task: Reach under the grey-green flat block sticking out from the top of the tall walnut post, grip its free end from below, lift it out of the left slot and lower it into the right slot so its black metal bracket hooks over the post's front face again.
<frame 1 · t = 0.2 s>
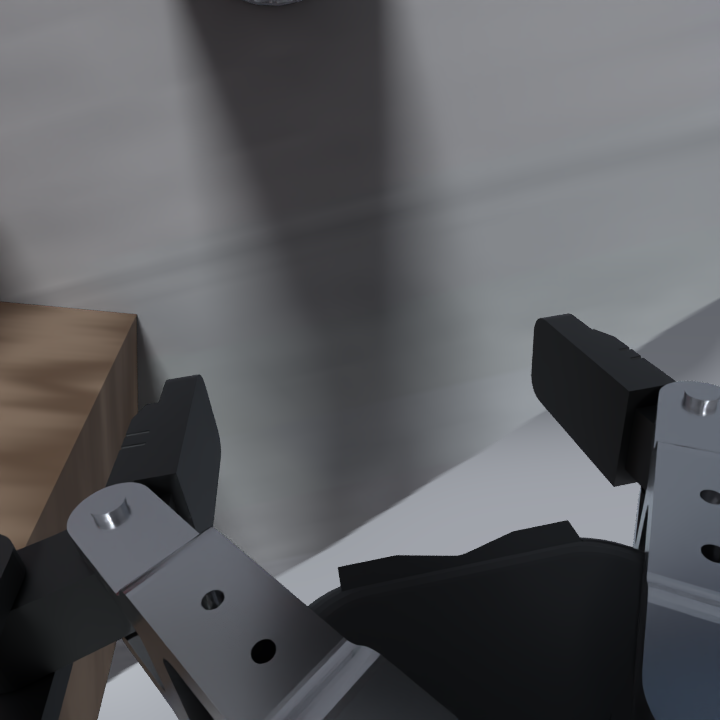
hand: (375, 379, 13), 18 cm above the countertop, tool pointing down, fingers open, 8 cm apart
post: (13, 439, 32), on the countertop
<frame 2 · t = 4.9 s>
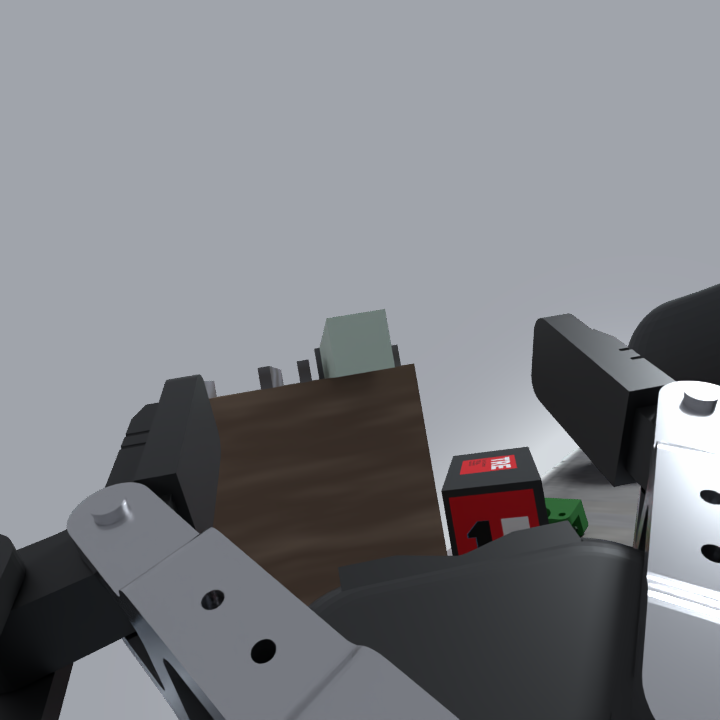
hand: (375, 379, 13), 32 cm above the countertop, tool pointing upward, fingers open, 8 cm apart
green blocky piece: (548, 538, 88), on the countertop
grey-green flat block: (348, 374, 39), point 32 cm above the countertop, touching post
cleaning product box: (523, 656, 56), on the countertop
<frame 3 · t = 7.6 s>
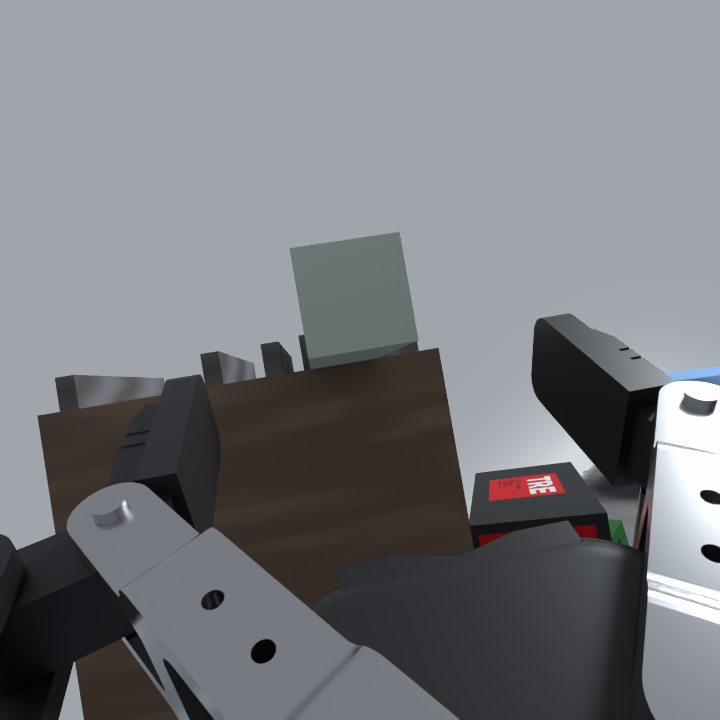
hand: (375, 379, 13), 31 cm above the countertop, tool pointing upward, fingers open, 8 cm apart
green blocky piece: (582, 565, 75), on the countertop
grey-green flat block: (340, 365, 27), point 32 cm above the countertop, touching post
planter: (712, 473, 108), on the countertop
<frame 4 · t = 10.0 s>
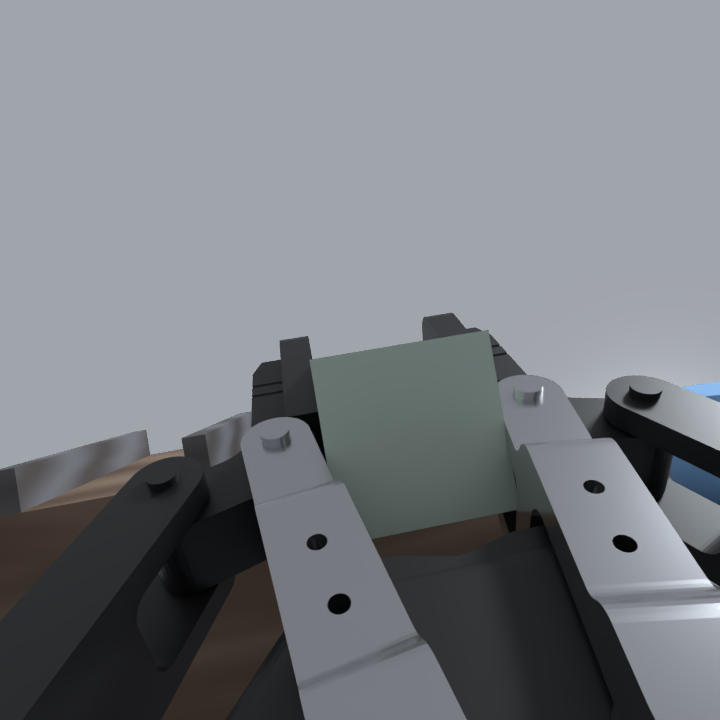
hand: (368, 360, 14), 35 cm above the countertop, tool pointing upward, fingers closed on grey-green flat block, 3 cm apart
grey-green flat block: (362, 441, 21), point 32 cm above the countertop, touching gripper, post
when the fingers open (36 cm above the countertop, at t = 15.5 s): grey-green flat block stays where it is, resting on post.
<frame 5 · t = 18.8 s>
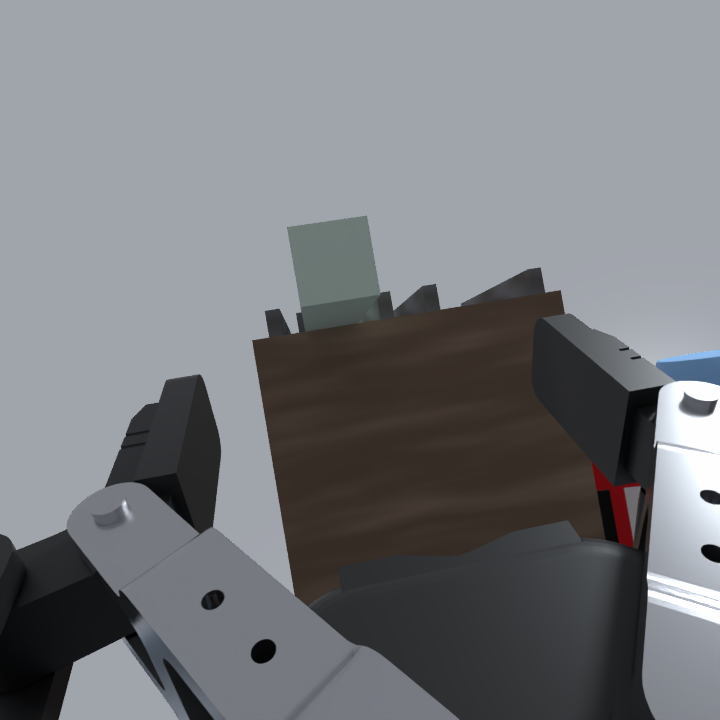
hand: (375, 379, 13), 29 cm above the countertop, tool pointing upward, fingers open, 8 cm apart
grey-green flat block: (330, 331, 32), point 32 cm above the countertop, touching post
cleaning product box: (630, 648, 49), on the countertop
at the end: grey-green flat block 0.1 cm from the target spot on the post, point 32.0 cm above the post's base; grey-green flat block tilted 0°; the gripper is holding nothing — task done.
